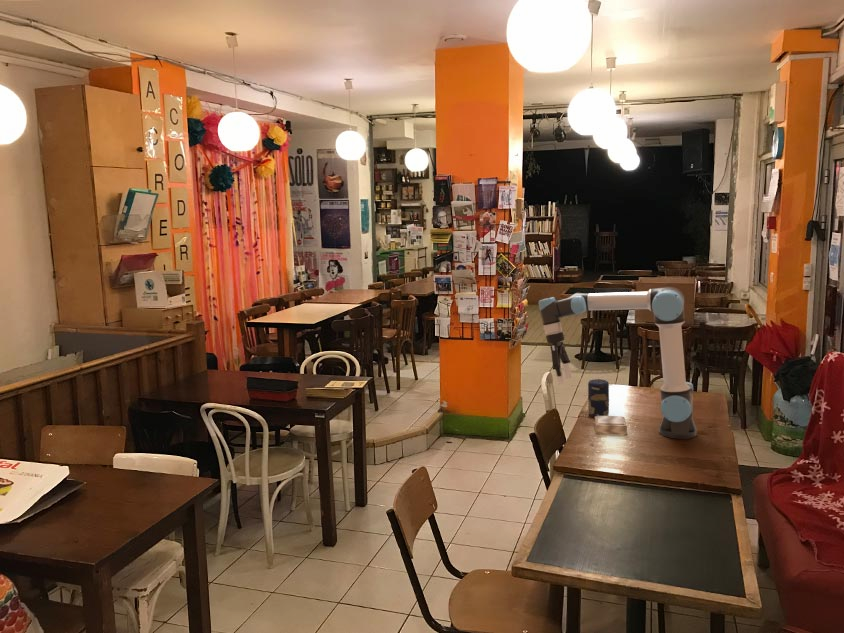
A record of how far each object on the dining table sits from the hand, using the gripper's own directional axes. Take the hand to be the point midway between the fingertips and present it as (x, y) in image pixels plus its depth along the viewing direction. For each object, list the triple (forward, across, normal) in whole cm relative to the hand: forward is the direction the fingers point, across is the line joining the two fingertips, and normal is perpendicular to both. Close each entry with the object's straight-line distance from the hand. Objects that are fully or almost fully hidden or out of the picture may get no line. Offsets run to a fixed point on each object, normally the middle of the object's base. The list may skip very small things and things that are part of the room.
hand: (565, 380), depth 297 cm
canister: (+24, -34, +3) cm, 41 cm away
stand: (+27, -14, +11) cm, 32 cm away
